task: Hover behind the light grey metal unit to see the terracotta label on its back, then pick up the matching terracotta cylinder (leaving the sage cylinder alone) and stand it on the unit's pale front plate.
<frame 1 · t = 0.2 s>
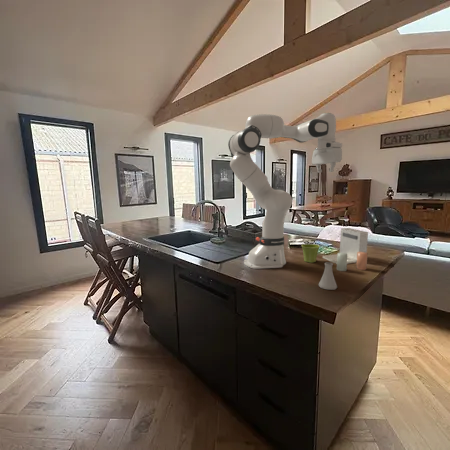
hand: (325, 172, 140), 48 cm above the countertop, tool pointing down, fingers open, 8 cm apart
flask: (327, 287, 105), on the countertop
terracotta part: (361, 268, 126), on the countertop
sage part: (341, 269, 125), on the countertop
service unit: (348, 258, 142), on the countertop
plant pot: (309, 261, 139), on the countertop
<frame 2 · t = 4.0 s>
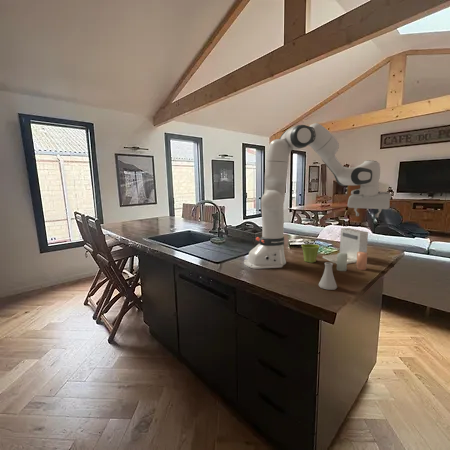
hand: (366, 216, 141), 23 cm above the countertop, tool pointing down, fingers open, 8 cm apart
nothing on the countertop moved.
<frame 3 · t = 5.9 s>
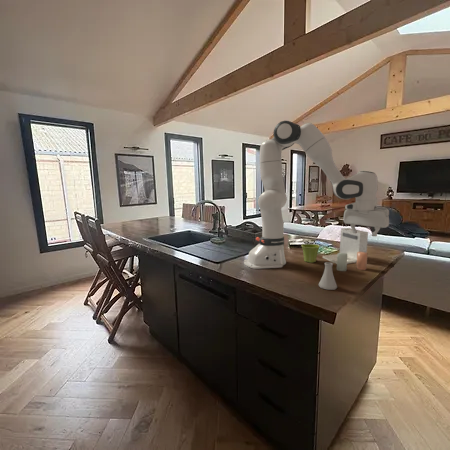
hand: (364, 234, 123), 17 cm above the countertop, tool pointing down, fingers open, 8 cm apart
nothing on the countertop moved.
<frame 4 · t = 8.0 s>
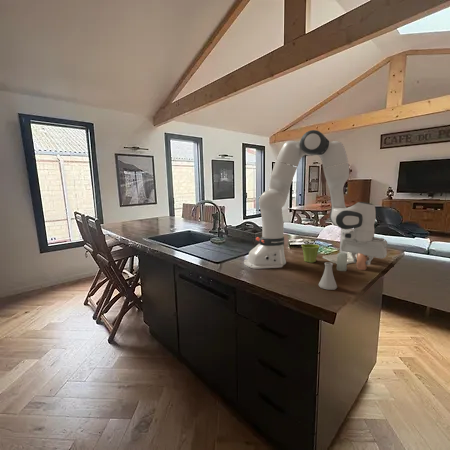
hand: (361, 263, 126), 3 cm above the countertop, tool pointing down, fingers closed on terracotta part, 4 cm apart
terracotta part: (361, 268, 126), on the countertop, touching gripper
everything else where it was.
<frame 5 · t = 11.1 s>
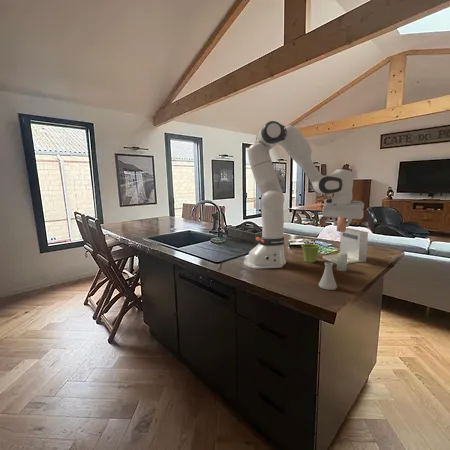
hand: (341, 226, 137), 19 cm above the countertop, tool pointing down, fingers closed on terracotta part, 4 cm apart
terracotta part: (341, 231, 138), point 16 cm above the countertop, touching gripper
everything else where it was.
when the fingers open (5 cm above the countertop, at t = 14.3 s): terracotta part drops 1 cm, resting on service unit.
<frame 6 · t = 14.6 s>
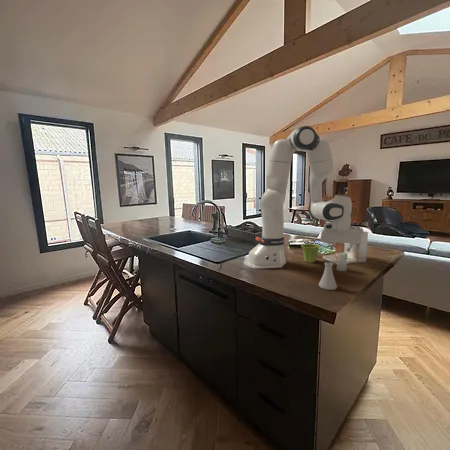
hand: (340, 250, 139), 5 cm above the countertop, tool pointing down, fingers open, 7 cm apart
terracotta part: (339, 257, 140), point 1 cm above the countertop, touching service unit
everything else where it was.
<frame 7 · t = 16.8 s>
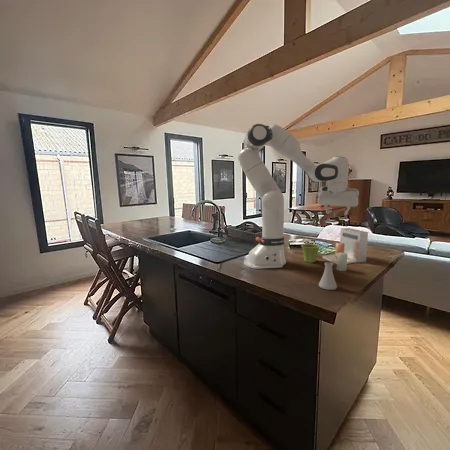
hand: (336, 213, 138), 25 cm above the countertop, tool pointing down, fingers open, 8 cm apart
nothing on the countertop moved.
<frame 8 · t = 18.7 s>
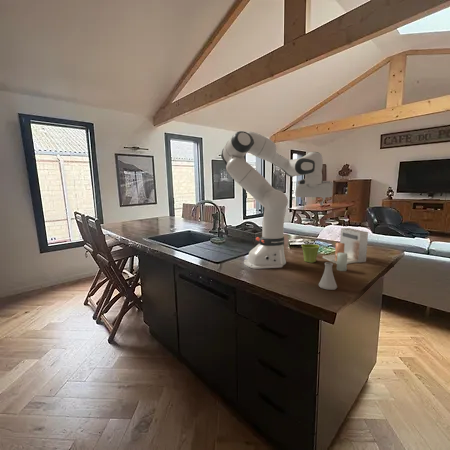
hand: (313, 205, 150), 29 cm above the countertop, tool pointing down, fingers open, 8 cm apart
nothing on the countertop moved.
at the end: terracotta part inside the target area on the service unit (0.1 cm from its centre), point 1.3 cm above the service unit's base; terracotta part tilted 2°; sage part moved 0.0 cm from its start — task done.
